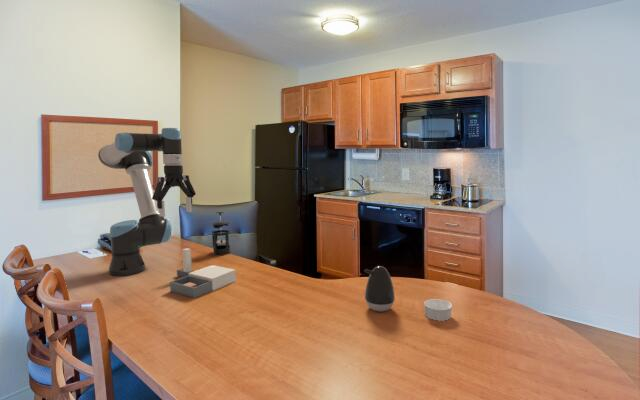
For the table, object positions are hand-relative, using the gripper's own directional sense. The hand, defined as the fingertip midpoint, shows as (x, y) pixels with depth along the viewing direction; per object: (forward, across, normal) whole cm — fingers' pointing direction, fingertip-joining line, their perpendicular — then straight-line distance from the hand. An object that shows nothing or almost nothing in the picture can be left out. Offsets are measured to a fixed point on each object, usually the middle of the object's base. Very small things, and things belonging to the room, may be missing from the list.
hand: (176, 214), depth 159 cm
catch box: (+29, -9, -18) cm, 35 cm away
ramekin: (+29, +17, -108) cm, 113 cm away
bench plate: (+29, +2, -18) cm, 34 cm away
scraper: (+29, +2, -3) cm, 29 cm away
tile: (+26, -10, -18) cm, 33 cm away
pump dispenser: (+29, +13, -89) cm, 94 cm away
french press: (+29, +39, +15) cm, 51 cm away
